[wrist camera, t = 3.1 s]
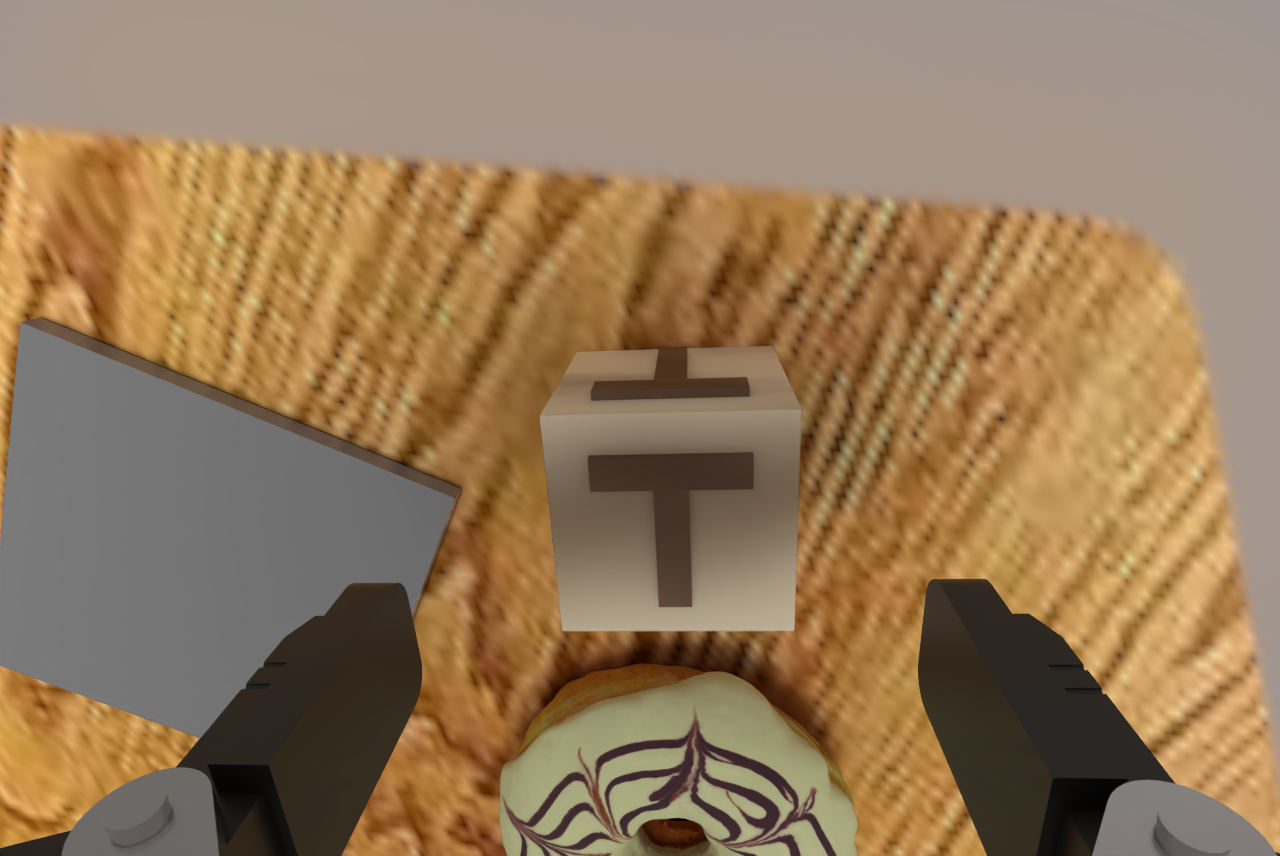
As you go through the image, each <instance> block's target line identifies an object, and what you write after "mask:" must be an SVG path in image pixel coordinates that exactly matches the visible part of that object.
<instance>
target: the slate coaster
mask: <svg viewBox="0 0 1280 856" xmlns="http://www.w3.org/2000/svg"><path fill="white" fill-rule="evenodd" d="M460 492H461V488H458V487H456V486H453V485H451V484H449V483H446V482H444V481H441V480H439V479H436V478H434V477H431V476H429V475H426V474H424V473H422V472H419V471H417V470H414V469H412V468H409V467H407V466H404V465H402V464H399V463H397V462H394V461H392V460H390V459H387V458H385V457H382V456H380V455H377V454H375V453H372V452H370V451H367V450H365V449H363V448H360V447H358V446H355V445H353V444H350V443H348V442H345V441H343V440H340V439H338V438H335V437H333V436H331V435H328V434H326V433H323V432H321V431H318V430H316V429H313V428H311V427H308V426H306V425H303V424H301V423H299V422H296V421H294V420H291V419H289V418H286V417H284V416H281V415H279V414H276V413H274V412H272V411H269V410H267V409H264V408H262V407H259V406H257V405H254V404H252V403H249V402H247V401H244V400H242V399H240V398H237V397H235V396H232V395H230V394H227V393H225V392H222V391H220V390H217V389H215V388H213V387H210V386H208V385H205V384H203V383H200V382H198V381H195V380H193V379H190V378H188V377H185V376H183V375H181V374H178V373H176V372H173V371H171V370H168V369H166V368H163V367H161V366H158V365H156V364H154V363H151V362H149V361H146V360H144V359H141V358H139V357H136V356H134V355H131V354H129V353H126V352H124V351H122V350H119V349H117V348H114V347H112V346H109V345H107V344H104V343H102V342H99V341H97V340H95V339H92V338H90V337H87V336H85V335H82V334H80V333H77V332H75V331H72V330H70V329H67V328H65V327H63V326H60V325H58V324H55V323H53V322H50V321H48V320H45V319H43V318H36V319H32V320H28V321H24V322H20V333H19V344H18V355H17V365H16V376H15V387H14V398H13V409H12V420H11V431H10V441H9V452H8V463H7V474H6V485H5V496H4V506H3V517H2V528H1V539H0V666H2V667H5V668H8V669H10V670H13V671H16V672H19V673H22V674H24V675H27V676H30V677H33V678H35V679H38V680H41V681H44V682H46V683H49V684H52V685H55V686H57V687H60V688H63V689H66V690H68V691H71V692H74V693H77V694H79V695H82V696H85V697H88V698H90V699H93V700H96V701H99V702H101V703H104V704H107V705H110V706H112V707H115V708H118V709H121V710H123V711H126V712H129V713H132V714H134V715H137V716H140V717H143V718H145V719H148V720H151V721H154V722H156V723H159V724H162V725H165V726H167V727H170V728H173V729H176V730H178V731H181V732H184V733H187V734H189V735H192V736H195V737H198V738H201V737H202V736H203V734H204V733H205V732H206V731H207V730H208V728H209V727H210V726H211V725H212V724H213V722H214V721H215V720H216V719H217V718H218V716H219V715H220V714H221V713H222V712H223V710H224V709H225V708H226V707H227V706H228V704H229V703H230V702H231V701H232V700H233V698H234V697H235V696H236V695H237V694H238V692H239V691H240V690H241V689H245V688H246V683H247V682H248V680H249V679H250V678H251V677H252V676H253V674H254V673H255V672H256V671H257V670H258V668H259V667H260V668H263V665H264V661H265V660H266V659H267V658H268V656H269V655H270V654H271V653H272V652H273V650H274V649H275V648H276V647H277V646H278V644H279V643H280V642H281V641H282V640H283V638H284V637H286V636H287V635H288V634H290V633H291V632H293V631H294V630H296V629H297V628H298V627H300V626H301V625H303V624H304V623H306V622H307V621H308V620H310V619H311V618H313V617H314V616H324V615H325V614H326V613H327V611H328V610H329V609H330V607H331V606H332V605H333V604H334V602H335V601H336V600H337V599H338V597H339V596H340V595H341V593H342V592H343V591H344V590H345V588H346V587H347V586H348V585H350V584H352V583H401V584H402V585H403V586H404V587H405V589H406V591H407V594H408V599H409V604H410V608H411V613H412V618H413V619H414V616H415V613H416V611H417V608H418V605H419V603H420V600H421V597H422V594H423V592H424V589H425V586H426V584H427V581H428V578H429V576H430V573H431V570H432V567H433V565H434V562H435V559H436V557H437V554H438V551H439V548H440V546H441V543H442V540H443V538H444V535H445V532H446V530H447V527H448V524H449V521H450V519H451V516H452V513H453V511H454V508H455V505H456V502H457V500H458V497H459V494H460Z"/></svg>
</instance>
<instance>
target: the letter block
mask: <svg viewBox="0 0 1280 856" xmlns="http://www.w3.org/2000/svg"><path fill="white" fill-rule="evenodd" d="M801 412H802V409H801V407H800V405H799V403H798V400H797V398H796V396H795V394H794V392H793V389H792V387H791V385H790V383H789V381H788V378H787V376H786V374H785V372H784V370H783V367H782V365H781V363H780V361H779V359H778V356H777V354H776V352H775V350H774V348H773V345H772V346H741V347H710V348H687V347H673V348H659V349H647V350H616V351H585V352H577V353H576V355H575V356H574V358H573V360H572V362H571V363H570V365H569V367H568V368H567V370H566V372H565V373H564V375H563V377H562V379H561V380H560V382H559V384H558V385H557V387H556V389H555V390H554V392H553V394H552V396H551V397H550V399H549V401H548V402H547V404H546V406H545V407H544V409H543V411H542V413H541V414H540V425H541V434H542V444H543V453H544V463H545V472H546V482H547V491H548V501H549V510H550V519H551V529H552V538H553V548H554V557H555V567H556V576H557V586H558V595H559V604H560V614H561V623H562V631H794V622H795V592H796V562H797V532H798V502H799V472H800V442H801Z"/></svg>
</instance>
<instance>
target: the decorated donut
mask: <svg viewBox="0 0 1280 856" xmlns="http://www.w3.org/2000/svg"><path fill="white" fill-rule="evenodd" d="M670 818H685V819H688V820H691V821H672V820H666V819H670ZM499 824H500V830H501V834H502V840H503V845H504V847H505V850H506V853H507V856H857V855H858V852H857V848H856V844H855V836H856V831H857V827H858V819H857V817H856V814H855V811H854V808H853V803H852V795H851V793H850V790H849V788H848V786H847V784H846V782H845V781H844V779H843V777H842V775H841V773H840V772H839V771H838V769H837V768H836V766H835V765H834V764H833V762H832V761H831V760H830V759H829V756H828V755H827V754H826V753H825V751H824V749H823V748H822V746H821V745H820V744H819V743H818V742H817V741H816V740H815V739H814V737H812V736H811V735H810V734H809V733H808V732H807V731H806V730H805V728H804V727H803V726H802V725H800V724H799V723H798V722H797V721H795V720H794V719H792V718H791V717H789V716H788V715H787V714H785V713H784V712H783V711H782V710H781V709H779V708H776V707H775V706H774V705H773V704H772V703H771V702H769V701H768V700H767V699H766V698H765V697H764V696H763V695H762V694H761V693H760V692H759V691H758V690H757V689H756V688H755V687H754V686H753V685H751V684H750V683H748V682H747V681H745V680H743V679H741V678H739V677H736V676H734V675H732V674H730V673H726V672H719V671H717V672H707V673H705V672H702V671H700V670H698V669H692V668H689V667H685V666H679V665H678V666H666V665H659V664H650V663H639V664H634V665H630V666H627V667H621V668H616V669H610V670H609V669H606V670H601V671H594V672H590V673H588V674H587V675H585V676H584V677H583V678H581V679H575V680H573V681H571V682H569V683H567V684H566V685H565V686H563V688H562V689H561V690H560V691H559V692H558V693H557V695H556V696H555V698H554V699H553V700H552V701H551V702H550V703H549V704H548V705H547V706H546V707H545V708H544V709H543V710H542V711H541V712H540V713H539V714H538V715H537V716H536V717H535V718H534V720H533V721H532V723H531V725H530V726H529V728H528V729H527V731H526V733H525V737H524V739H523V741H522V743H521V746H520V748H519V751H518V753H517V756H516V758H515V759H513V760H510V761H509V762H507V763H506V764H505V765H504V766H503V769H502V772H501V779H500V807H499Z"/></svg>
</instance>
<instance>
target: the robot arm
mask: <svg viewBox="0 0 1280 856" xmlns="http://www.w3.org/2000/svg"><path fill="white" fill-rule="evenodd" d="M918 679H919V687H920V693H921V698H922V702H923V705H924V708H925V710H926V713H927V715H928V718H929V720H930V722H931V725H932V727H933V729H934V732H935V734H936V736H937V739H938V741H939V743H940V746H941V748H942V750H943V753H944V755H945V757H946V760H947V762H948V765H949V767H950V769H951V772H952V774H953V776H954V779H955V781H956V783H957V786H958V788H959V790H960V793H961V795H962V797H963V800H964V802H965V805H966V807H967V809H968V812H969V814H970V816H971V819H972V821H973V823H974V826H975V828H976V830H977V833H978V835H979V837H980V840H981V842H982V845H983V847H984V849H985V852H986V854H987V856H1280V854H1279V853H1276V852H1275V851H1274V849H1273V848H1272V847H1271V845H1270V844H1269V843H1268V842H1267V840H1266V839H1265V838H1264V837H1263V836H1262V835H1261V834H1260V833H1259V832H1258V831H1257V830H1256V829H1255V828H1254V827H1253V826H1252V825H1251V824H1250V823H1249V822H1247V821H1246V820H1245V819H1244V818H1243V817H1241V816H1240V815H1239V814H1237V813H1236V812H1234V811H1233V810H1231V809H1230V808H1228V807H1227V806H1225V805H1224V804H1222V803H1220V802H1218V801H1217V800H1215V799H1213V798H1211V797H1209V796H1207V795H1205V794H1202V793H1200V792H1198V791H1195V790H1193V789H1190V788H1187V787H1185V786H1181V785H1177V784H1175V783H1174V781H1173V780H1172V779H1171V777H1170V776H1169V775H1168V774H1167V772H1166V771H1165V770H1164V768H1163V767H1162V766H1161V764H1160V763H1159V762H1158V761H1157V759H1156V758H1155V757H1154V755H1153V754H1152V753H1151V751H1150V750H1149V749H1148V748H1147V746H1146V745H1145V744H1144V742H1143V741H1142V740H1141V739H1140V737H1139V736H1138V735H1137V733H1136V732H1135V731H1134V729H1133V728H1132V727H1131V726H1130V724H1129V723H1128V722H1127V720H1126V719H1125V718H1124V716H1123V715H1122V714H1121V713H1120V711H1119V710H1118V709H1117V707H1116V706H1115V705H1114V704H1113V702H1112V701H1111V700H1110V698H1109V697H1108V696H1107V694H1103V693H1102V688H1101V687H1100V685H1099V684H1098V683H1097V682H1096V680H1095V679H1094V678H1093V676H1092V675H1091V674H1090V672H1089V671H1088V670H1084V667H1083V663H1082V662H1081V661H1080V659H1079V658H1078V657H1077V656H1076V654H1075V653H1074V652H1073V650H1072V649H1071V648H1070V647H1069V645H1068V644H1067V643H1066V641H1065V640H1064V639H1063V637H1061V636H1060V635H1059V634H1057V633H1056V632H1054V631H1053V630H1051V629H1050V628H1049V627H1047V626H1046V625H1044V624H1043V623H1041V622H1040V621H1039V620H1037V619H1036V618H1034V617H1033V616H1031V615H1030V614H1012V613H1011V611H1010V610H1009V609H1008V607H1007V606H1006V604H1005V603H1004V602H1003V600H1002V599H1001V597H1000V596H999V594H998V593H997V592H996V590H995V589H994V587H993V586H992V585H991V583H990V582H989V581H988V580H986V579H933V580H931V581H930V582H929V584H928V587H927V591H926V599H925V608H924V617H923V626H922V634H921V643H920V652H919V661H918ZM421 682H422V663H421V657H420V653H419V648H418V643H417V638H416V633H415V628H414V623H413V618H412V613H411V608H410V604H409V599H408V594H407V591H406V589H405V587H404V586H403V585H402V584H401V583H352V584H350V585H348V586H347V587H346V588H345V590H344V591H343V592H342V593H341V595H340V596H339V597H338V599H337V600H336V601H335V602H334V604H333V605H332V606H331V607H330V609H329V610H328V611H327V613H326V614H325V615H324V616H314V617H313V618H311V619H310V620H308V621H307V622H306V623H304V624H303V625H301V626H300V627H298V628H297V629H296V630H294V631H293V632H291V633H290V634H288V635H287V636H286V637H284V638H283V640H282V641H281V642H280V643H279V644H278V646H277V647H276V648H275V649H274V650H273V652H272V653H271V654H270V655H269V656H268V658H267V659H266V660H265V661H264V665H263V668H260V667H259V668H258V670H257V671H256V672H255V673H254V674H253V676H252V677H251V678H250V679H249V680H248V682H247V683H246V688H245V689H241V690H240V691H239V692H238V694H237V695H236V696H235V697H234V698H233V700H232V701H231V702H230V703H229V704H228V706H227V707H226V708H225V709H224V710H223V712H222V713H221V714H220V715H219V716H218V718H217V719H216V720H215V721H214V722H213V724H212V725H211V726H210V727H209V728H208V730H207V731H206V732H205V733H204V734H203V736H202V737H201V738H200V739H199V740H198V742H197V743H196V744H195V745H194V746H193V748H192V749H191V750H190V751H189V752H188V754H187V755H186V756H185V757H184V758H183V760H182V761H181V762H180V763H179V764H178V766H177V767H176V768H169V769H164V770H160V771H156V772H152V773H150V774H147V775H144V776H141V777H139V778H137V779H135V780H133V781H130V782H128V783H126V784H125V785H123V786H121V787H119V788H118V789H116V790H114V791H113V792H111V793H110V794H108V795H107V796H105V797H104V798H103V799H101V800H100V801H99V802H98V803H96V804H95V805H94V806H93V807H92V808H91V809H90V810H89V811H88V812H86V813H85V814H84V815H83V817H82V818H81V819H80V820H79V821H78V822H77V823H76V825H75V826H74V828H73V829H72V830H71V831H67V832H63V833H59V834H55V835H51V836H47V837H43V838H39V839H35V840H31V841H27V842H23V843H19V844H15V845H11V846H7V847H3V848H0V856H341V855H342V853H343V851H344V849H345V847H346V845H347V843H348V841H349V839H350V837H351V835H352V833H353V831H354V829H355V827H356V825H357V823H358V821H359V819H360V817H361V815H362V813H363V811H364V809H365V807H366V805H367V803H368V800H369V798H370V796H371V794H372V792H373V790H374V788H375V786H376V784H377V782H378V780H379V778H380V776H381V774H382V772H383V770H384V768H385V766H386V764H387V762H388V760H389V758H390V756H391V754H392V752H393V750H394V748H395V746H396V744H397V742H398V740H399V738H400V736H401V734H402V732H403V730H404V728H405V726H406V724H407V722H408V719H409V717H410V715H411V713H412V711H413V709H414V707H415V705H416V703H417V700H418V697H419V693H420V689H421Z"/></svg>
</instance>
